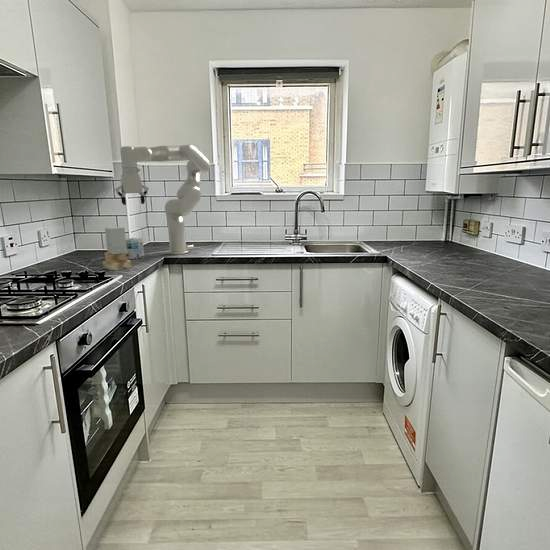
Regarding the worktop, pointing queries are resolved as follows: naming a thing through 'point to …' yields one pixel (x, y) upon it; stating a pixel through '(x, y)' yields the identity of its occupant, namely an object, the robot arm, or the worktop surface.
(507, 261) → the worktop surface
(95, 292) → the worktop surface
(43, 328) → the worktop surface
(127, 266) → the tower base block
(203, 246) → the worktop surface
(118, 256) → the tower top block
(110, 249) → the supplement box
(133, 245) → the light bulb box
